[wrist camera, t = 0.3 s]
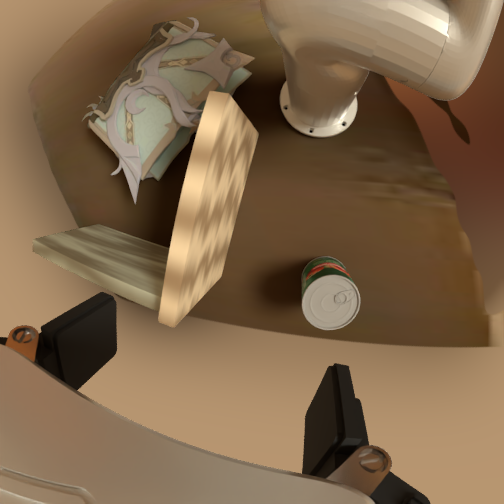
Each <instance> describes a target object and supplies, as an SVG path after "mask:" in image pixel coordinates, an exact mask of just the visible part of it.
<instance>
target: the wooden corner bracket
mask: <svg viewBox="0 0 504 504" xmlns="http://www.w3.org/2000/svg"><path fill="white" fill-rule="evenodd" d="M258 135H259V133H258V132H257V131H256V129H255V128H254V126H253V125H252V124H251V122H250V121H249V120H248V118H247V117H246V115H245V114H244V113H243V111H242V110H241V109H240V107H239V106H238V105H237V104H236V102H235V101H234V100H233V98H232V97H231V96H230V94H229V93H222V92H215V91H209V94H208V97H207V101H206V104H205V107H204V110H203V114H202V117H201V120H200V124H199V127H198V131H197V134H196V138H195V141H194V145H193V149H192V152H191V156H190V160H189V164H188V168H187V172H186V176H185V180H184V184H183V188H182V192H181V197H180V201H179V206H178V210H177V215H176V219H175V224H174V229H173V234H172V239H171V244H170V248H167V247H164V246H161V245H158V244H155V243H152V242H149V241H146V240H143V239H140V238H137V237H134V236H131V235H128V234H125V233H122V232H119V231H117V230H114V229H111V228H108V227H105V226H102V225H99V224H97V225H92V226H88V227H83V228H79V229H75V230H70V231H65V232H61V233H57V234H53V235H49V236H44V237H40V238H36V239H33V252H35V253H37V254H39V255H40V256H42V257H44V258H46V259H48V260H50V261H51V262H53V263H55V264H57V265H59V266H61V267H63V268H64V269H67V270H68V271H70V272H72V273H74V274H76V275H78V276H80V277H82V278H84V279H86V280H88V281H91V282H92V283H95V284H97V285H99V286H101V287H103V288H105V289H107V290H110V291H112V292H114V293H116V294H118V295H120V296H123V297H125V298H127V299H129V300H132V301H134V302H136V303H139V304H141V305H143V306H146V307H148V308H151V309H153V310H156V311H158V312H159V319H158V322H160V323H163V324H166V325H168V326H170V327H173V328H174V327H175V326H176V325H177V324H178V323H179V322H180V321H181V320H182V319H183V317H184V316H185V315H186V314H187V313H188V312H189V311H190V310H191V309H192V308H193V307H194V306H195V304H196V303H197V302H198V301H199V300H200V299H201V298H202V297H203V296H204V295H205V294H206V293H207V291H208V290H209V289H210V288H211V287H212V286H213V285H214V284H215V283H216V282H217V281H218V280H219V279H220V277H221V276H222V272H223V268H224V264H225V260H226V256H227V252H228V248H229V244H230V240H231V236H232V232H233V228H234V224H235V220H236V217H237V213H238V209H239V205H240V201H241V198H242V194H243V190H244V186H245V183H246V179H247V175H248V171H249V168H250V164H251V161H252V157H253V153H254V150H255V146H256V142H257V139H258Z"/></svg>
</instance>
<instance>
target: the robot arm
mask: <svg viewBox="0 0 504 504" xmlns="http://www.w3.org/2000/svg"><path fill="white" fill-rule="evenodd" d="M503 1H504V0H260V6H261V11H262V14H263V17H264V20H265V23H266V25H267V27H268V29H269V31H270V33H271V34H272V36H273V38H274V39H275V40H276V42H277V43H278V45H279V46H280V48H281V51H282V55H283V60H284V66H285V73H286V82H285V83H284V85H283V87H282V89H281V93H280V106H281V110H282V113H283V115H284V117H285V118H286V120H287V121H288V123H289V124H290V125H291V126H292V127H293V128H295V129H296V130H297V131H299V132H301V133H303V134H305V135H308V136H311V137H317V138H327V137H332V136H335V135H338V134H340V133H341V132H343V131H344V130H346V129H347V128H348V127H349V126H350V125H351V123H352V122H353V120H354V118H355V116H356V112H357V99H356V95H357V94H358V92H359V90H360V88H361V87H362V85H363V83H364V82H365V80H366V78H367V76H368V73H369V70H370V71H373V72H376V73H378V74H381V75H383V76H386V77H388V78H390V79H393V80H395V81H397V82H400V83H402V84H404V85H406V86H408V87H410V88H412V89H415V90H417V91H419V92H421V93H423V94H425V95H428V96H430V97H432V98H435V99H439V100H452V99H455V98H457V97H459V96H460V95H461V94H463V93H464V92H465V91H466V90H467V89H468V87H469V86H470V84H471V83H472V81H473V80H474V78H475V76H476V75H477V73H478V71H479V69H480V66H481V64H482V62H483V59H484V57H485V55H486V52H487V49H488V47H489V44H490V41H491V39H492V35H493V33H494V30H495V27H496V24H497V21H498V18H499V15H500V12H501V8H502V5H503ZM285 108H288V109H287V110H285ZM342 124H344V125H345V126H342ZM310 130H312V133H310V132H309V131H310ZM41 331H42V332H41V333H38V331H37V330H36V329H35V328H33V327H31V326H27V325H24V326H23V325H22V326H18V327H15V328H14V329H12V330H11V331H10V333H9V336H8V338H6V337H0V504H430V501H429V500H428V498H427V497H426V496H425V495H423V494H422V493H420V492H419V491H417V490H416V489H414V488H413V487H412V486H410V485H409V484H407V483H406V482H404V481H403V480H401V479H400V478H399V477H397V476H395V475H394V474H393V473H392V472H390V469H391V467H392V460H391V457H390V456H389V454H388V453H387V452H386V451H385V450H384V449H382V448H380V447H378V446H373V445H369V442H368V436H367V431H366V426H365V421H364V415H363V410H362V406H361V402H360V400H359V399H357V398H355V394H354V389H353V384H352V380H351V375H350V370H349V366H346V365H341V364H336V363H335V364H334V365H333V366H329V367H328V368H327V371H326V373H325V375H324V377H323V379H322V381H321V384H320V386H319V388H318V390H317V392H316V394H315V396H314V398H313V400H312V402H311V404H310V406H309V408H308V410H307V413H306V416H305V436H304V455H303V469H302V474H301V473H295V472H291V471H286V470H280V469H275V468H271V467H266V466H261V465H257V464H253V463H249V462H245V461H241V460H237V459H233V458H230V457H226V456H223V455H220V454H216V453H213V452H210V451H207V450H204V449H201V448H198V447H195V446H192V445H189V444H186V443H183V442H181V441H178V440H176V439H173V438H170V437H168V436H166V435H163V434H161V433H158V432H156V431H153V430H151V429H149V428H147V427H144V426H142V425H140V424H138V423H136V422H134V421H132V420H129V419H128V418H126V417H124V416H122V415H120V414H118V413H116V412H114V411H112V410H110V409H108V408H106V407H104V406H103V405H101V404H99V403H97V402H95V401H94V400H92V399H90V398H88V397H87V396H85V395H83V394H82V393H80V392H79V391H77V390H78V389H79V388H80V387H81V386H82V385H83V384H84V383H86V382H87V381H88V380H89V379H90V378H91V377H92V376H93V375H94V374H95V373H96V372H97V371H98V370H99V369H101V368H102V367H103V366H104V365H105V364H106V363H107V362H108V361H109V360H110V359H111V358H112V357H114V355H115V354H116V351H117V335H116V334H117V332H116V301H115V300H114V297H113V296H111V295H109V294H106V293H104V292H100V293H99V294H97V295H95V296H93V297H91V298H90V299H88V300H86V301H84V302H83V303H81V304H79V305H78V306H76V307H74V308H72V309H70V310H69V311H67V312H65V313H63V314H62V315H60V316H58V317H57V318H55V319H53V320H51V321H50V322H48V323H47V324H45V325H43V326H41Z"/></svg>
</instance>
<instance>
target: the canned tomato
mask: <svg viewBox="0 0 504 504" xmlns="http://www.w3.org/2000/svg"><path fill="white" fill-rule="evenodd" d="M301 282H302V310H303V313H304V316H305V317H306V319H307V320H308V321H309V322H310V323H311V324H312V325H313V326H315V327H317V328H320V329H324V330H335V329H339V328H342V327H344V326H345V325H347V324H349V323H350V322H351V321H352V320H353V319H354V317H355V316H356V314H357V313H358V310H359V307H360V294H359V291H358V289H357V287H356V286H355V284H354V283H353V281H352V279H351V277H350V276H349V274H348V272H347V271H346V268H345V267H344V265H343V264H342V263H341V262H340V261H339V260H337V259H335V258H333V257H328V256H322V257H318V258H315V259H313V260H312V261H310V262H309V263H308V264H307V265H306V267H305V268H304V270H303V273H302V277H301Z"/></svg>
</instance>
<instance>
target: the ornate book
mask: <svg viewBox="0 0 504 504" xmlns="http://www.w3.org/2000/svg"><path fill="white" fill-rule="evenodd" d="M188 19H190V20H192V21H194V24H195V25H194V27H193V29H192V28H190V27H188V26H186V25H184V24H182V23H180V22H178V21H176V20H174V21H167V22H162V23H158V24H155V25H154V26H153V29H152V33H151V36H150V39H149V41H148V42H147V43H146V45H145V46H144V47H143V48H142V49H141V50H140V51H139V52H138V53H137V55H136V56H135V57H134V58H133V59H132V60H131V62H130V63H129V64H128V65H127V67H126V68H125V69H124V70H123V72H122V73H121V74H120V75H119V76H118V77H117V78H116V80H115V81H114V83H113V84H112V85H111V87H110V88H109V90H108V91H107V93H106V95H105V96H104V97H102V96H99V97H100V98H101V101H100V103H99V105H97V104H90V105H89V106H88V107H90V106H92V107H93V110H94V109H95V110H94V111H91V112H89V113H87V114H86V115H85V116H84V118H83V120H84V119H85V117H87V116H91V117H90V119H89V122H88V128H89V126H90V128H91V129H92V130H93V131H94V132H95V133H96V134H97V135H98V136H99V137H100V138H101V139H102V140H103V141H104V142H105V143H106V144H107V146H108V147H109V148H110V149H111V150H112V151H113V152H114V153H115V155H116V157H117V158H118V159H119V160H120V163H119V167H118V168H117V170H115V171H114V172H113V173H112V174H111V175H116V174H117V173H119V171H120V170H121V168H123V170H124V173H125V175H126V178H127V181H128V184H129V187H130V190H131V193H132V196H133V199H134V202H135V204H136V198H137V193H138V188H139V182H140V179H141V180H144V179H145V178H150V177H154V178H155V179H156V180H157V181H159V180H160V179H161V177H162V176H163V174H164V173H165V171H166V170H167V168H168V167H169V165H170V164H171V162H172V161H173V160H174V158H175V157H176V156H177V155H178V154H179V153H180V152H181V150H182V149H183V148H184V147H185V146H186V145H187V144H188V143H189V140H190V136H191V135H192V134H193V133H194V132H195V131H196V132H197V131H198V127H199V124H200V120H201V117H202V114H203V110H204V107H205V104H206V101H207V97H208V94H209V91H215V92H222V93H229V94H230V96H231V97H232V95H233V93H234V91H235V89H236V88H237V87H238V86H239V85H241V84H242V83H243V82H244V81H245V80H246V79H248V78H249V77H250V76H251V75H252V73H250V72H249V71H247V70H246V69H245V68H243V66H245V65H246V64H248V63H249V62H251V61H252V60H254V59H255V58H253V57H251V56H248V55H245V54H243V53H240V52H238V51H233V49H232V48H231V46H230V45H229V44H228V43H227V42H226V40H225V39H224V38H223V39H222V40H221V42H220V43H218V42H216V41H214V40H212V39H211V38H210V37H214V36H217V35H215V34H209V33H203V32H198V31H197V29H198V27H199V22H198V21H197V19H195V18H192V17H188ZM86 108H87V107H86ZM83 120H82V121H83ZM196 132H195V133H196ZM148 172H149V173H148Z"/></svg>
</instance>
